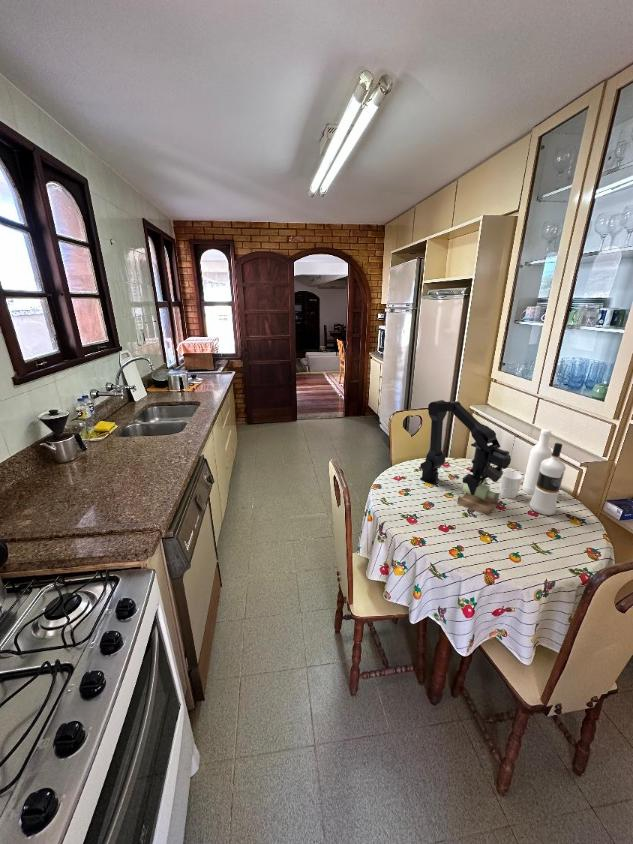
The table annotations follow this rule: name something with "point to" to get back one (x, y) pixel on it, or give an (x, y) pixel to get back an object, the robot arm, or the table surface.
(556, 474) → the vodka
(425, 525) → the table surface
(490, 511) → the rest
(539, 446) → the bottle
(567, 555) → the table surface
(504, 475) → the white cup
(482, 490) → the bottle
